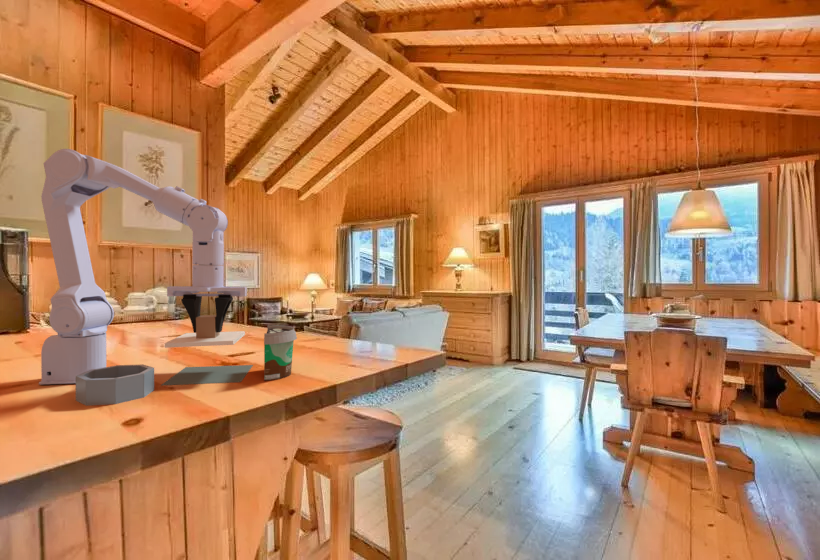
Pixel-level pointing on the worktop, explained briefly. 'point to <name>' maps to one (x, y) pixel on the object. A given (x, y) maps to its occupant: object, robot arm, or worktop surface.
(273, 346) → the food container
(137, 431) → the worktop surface
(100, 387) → the bowl
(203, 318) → the lid
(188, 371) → the mat
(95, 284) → the robot arm
